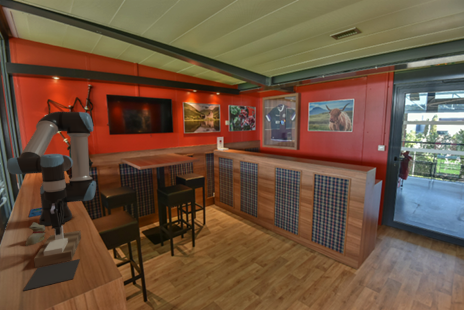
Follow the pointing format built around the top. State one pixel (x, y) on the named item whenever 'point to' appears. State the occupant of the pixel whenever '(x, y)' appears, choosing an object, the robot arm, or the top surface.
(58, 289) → the top surface
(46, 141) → the robot arm
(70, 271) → the mat
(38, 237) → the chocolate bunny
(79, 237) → the brown wooden flat slab
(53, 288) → the top surface
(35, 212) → the handheld gaming device
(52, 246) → the block
